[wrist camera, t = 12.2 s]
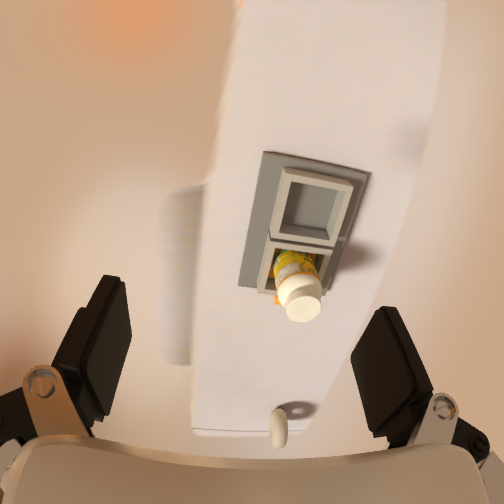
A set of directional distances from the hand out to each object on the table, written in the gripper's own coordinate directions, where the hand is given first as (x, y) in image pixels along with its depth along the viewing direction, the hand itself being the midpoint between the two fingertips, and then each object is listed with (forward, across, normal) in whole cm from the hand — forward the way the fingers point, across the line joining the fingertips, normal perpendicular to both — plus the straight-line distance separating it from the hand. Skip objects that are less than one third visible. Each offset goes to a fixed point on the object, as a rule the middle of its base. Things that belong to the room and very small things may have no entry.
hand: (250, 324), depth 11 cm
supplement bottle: (+26, -8, +14) cm, 31 cm away
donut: (+27, -16, +57) cm, 66 cm away
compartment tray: (+28, -8, +10) cm, 31 cm away
